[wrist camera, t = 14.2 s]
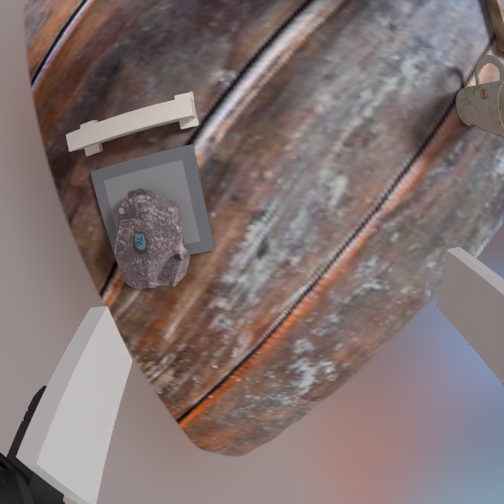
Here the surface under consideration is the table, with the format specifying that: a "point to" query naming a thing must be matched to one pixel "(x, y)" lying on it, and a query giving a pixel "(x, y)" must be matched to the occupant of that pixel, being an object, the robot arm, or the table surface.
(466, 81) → the table surface
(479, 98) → the mug
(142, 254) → the rock
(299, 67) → the table surface
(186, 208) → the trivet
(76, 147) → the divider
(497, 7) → the wooden frame
